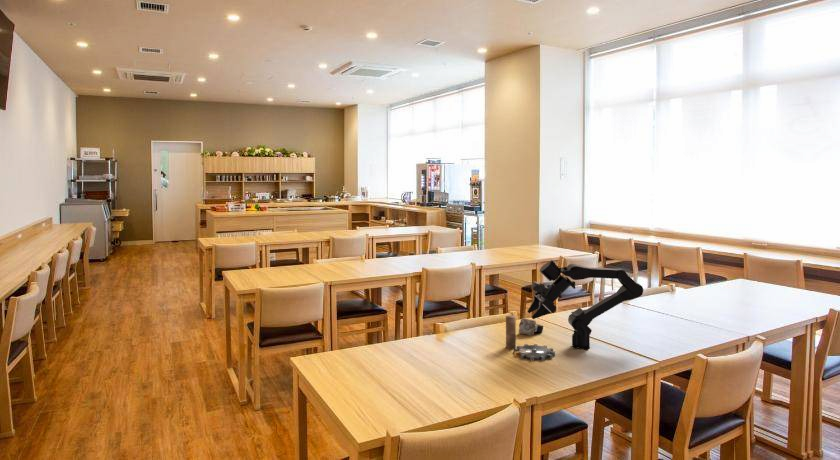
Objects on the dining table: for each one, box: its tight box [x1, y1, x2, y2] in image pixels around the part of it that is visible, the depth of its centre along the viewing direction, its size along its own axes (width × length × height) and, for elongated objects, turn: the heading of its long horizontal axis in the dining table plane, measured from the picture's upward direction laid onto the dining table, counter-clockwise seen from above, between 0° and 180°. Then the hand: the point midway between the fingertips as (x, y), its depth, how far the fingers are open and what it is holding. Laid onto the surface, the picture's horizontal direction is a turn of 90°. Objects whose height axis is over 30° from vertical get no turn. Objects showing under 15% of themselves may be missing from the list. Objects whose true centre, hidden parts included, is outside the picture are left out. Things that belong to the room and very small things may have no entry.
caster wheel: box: [518, 317, 544, 337], centre depth 240 cm, size 7×11×10 cm
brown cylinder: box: [505, 315, 517, 350], centre depth 219 cm, size 4×4×13 cm
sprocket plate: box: [513, 343, 556, 362], centre depth 211 cm, size 16×16×2 cm
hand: (530, 315), depth 218 cm, fingers open, 9 cm apart
